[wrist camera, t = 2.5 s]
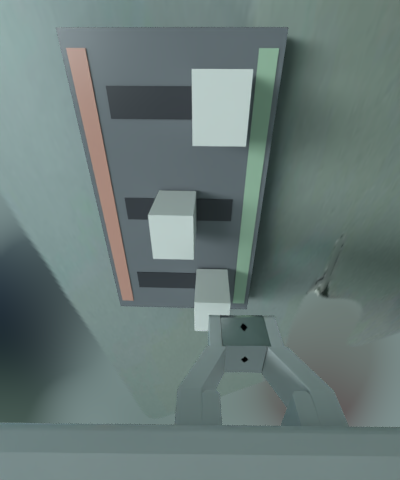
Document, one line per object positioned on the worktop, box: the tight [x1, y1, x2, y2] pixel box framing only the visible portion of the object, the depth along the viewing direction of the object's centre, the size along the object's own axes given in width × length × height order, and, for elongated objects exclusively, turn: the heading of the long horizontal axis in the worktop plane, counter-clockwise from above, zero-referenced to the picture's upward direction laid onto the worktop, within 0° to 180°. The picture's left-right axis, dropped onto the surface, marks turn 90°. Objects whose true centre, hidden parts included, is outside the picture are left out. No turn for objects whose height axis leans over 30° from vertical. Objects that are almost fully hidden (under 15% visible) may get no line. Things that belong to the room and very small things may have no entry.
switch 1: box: [192, 69, 253, 147], centre depth 15 cm, size 3×4×4 cm
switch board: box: [56, 27, 288, 309], centre depth 23 cm, size 14×24×3 cm, turn 0°
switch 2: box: [194, 269, 231, 331], centre depth 24 cm, size 3×4×4 cm
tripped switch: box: [148, 190, 196, 260], centre depth 19 cm, size 3×4×4 cm
